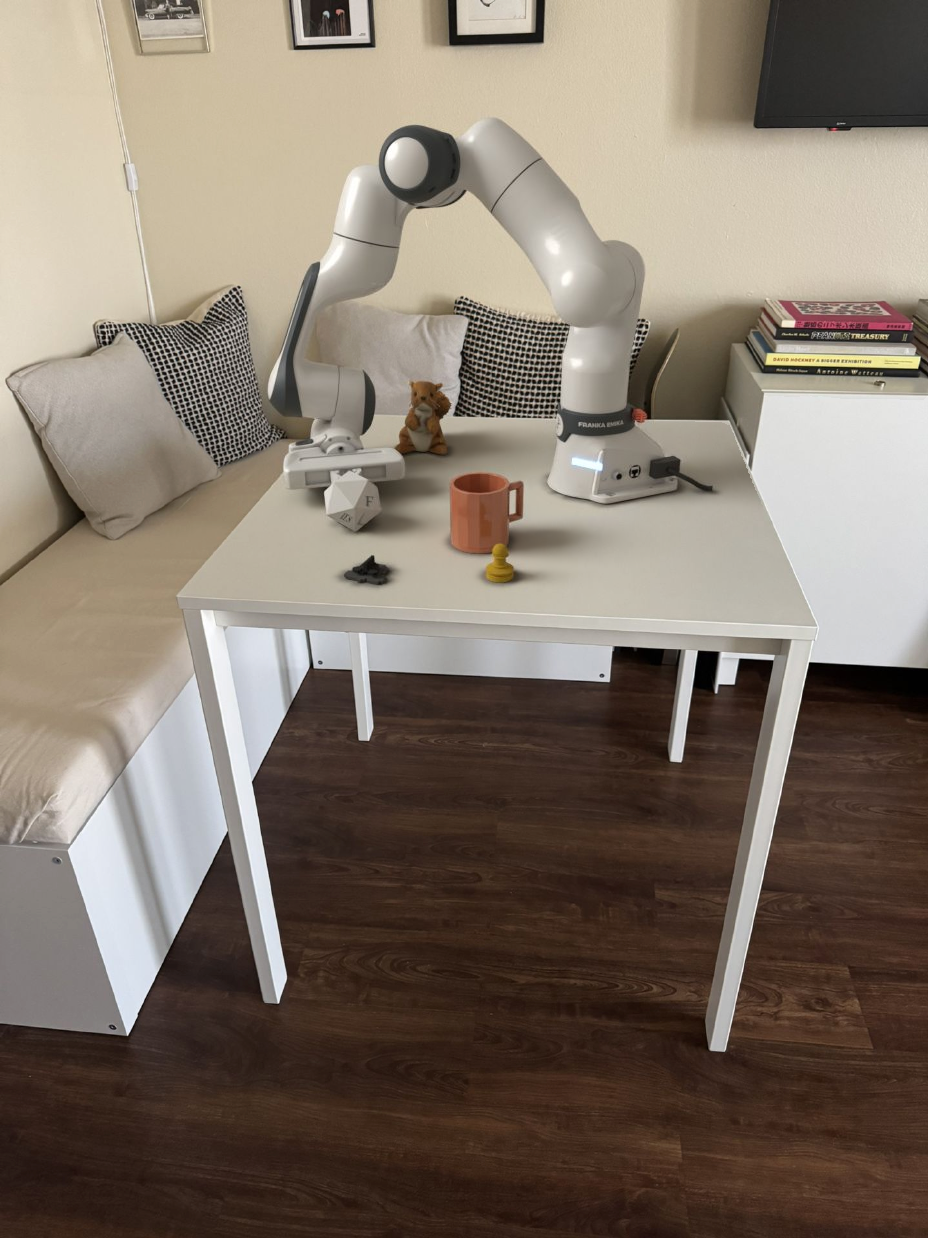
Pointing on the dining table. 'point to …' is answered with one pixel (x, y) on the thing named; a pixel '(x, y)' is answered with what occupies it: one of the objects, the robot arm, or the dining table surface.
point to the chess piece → (499, 565)
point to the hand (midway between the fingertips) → (349, 485)
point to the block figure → (368, 572)
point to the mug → (482, 511)
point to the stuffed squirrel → (424, 419)
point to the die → (352, 501)
